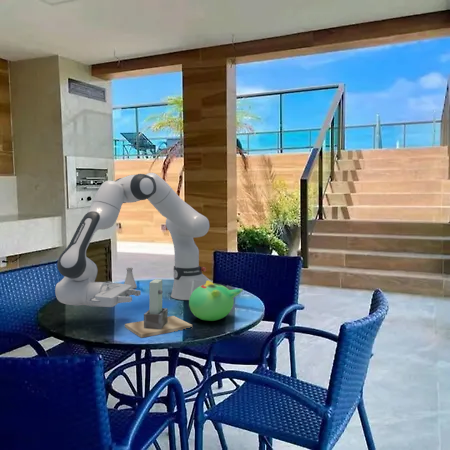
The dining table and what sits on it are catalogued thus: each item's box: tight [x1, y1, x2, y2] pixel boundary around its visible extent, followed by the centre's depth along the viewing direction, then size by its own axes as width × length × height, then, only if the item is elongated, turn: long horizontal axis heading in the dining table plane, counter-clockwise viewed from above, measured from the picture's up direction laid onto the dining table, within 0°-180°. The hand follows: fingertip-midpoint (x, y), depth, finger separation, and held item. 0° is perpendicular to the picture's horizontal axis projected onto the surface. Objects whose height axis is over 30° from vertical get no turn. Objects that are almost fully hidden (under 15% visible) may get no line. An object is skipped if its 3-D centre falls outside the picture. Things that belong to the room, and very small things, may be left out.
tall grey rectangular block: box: [148, 278, 163, 314], centre depth 169 cm, size 6×4×16 cm
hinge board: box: [124, 307, 193, 339], centre depth 170 cm, size 20×14×6 cm
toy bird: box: [188, 280, 244, 322], centre depth 181 cm, size 18×17×15 cm
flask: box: [123, 267, 138, 290], centre depth 233 cm, size 7×7×10 cm
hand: (135, 296), depth 170 cm, fingers open, 8 cm apart
